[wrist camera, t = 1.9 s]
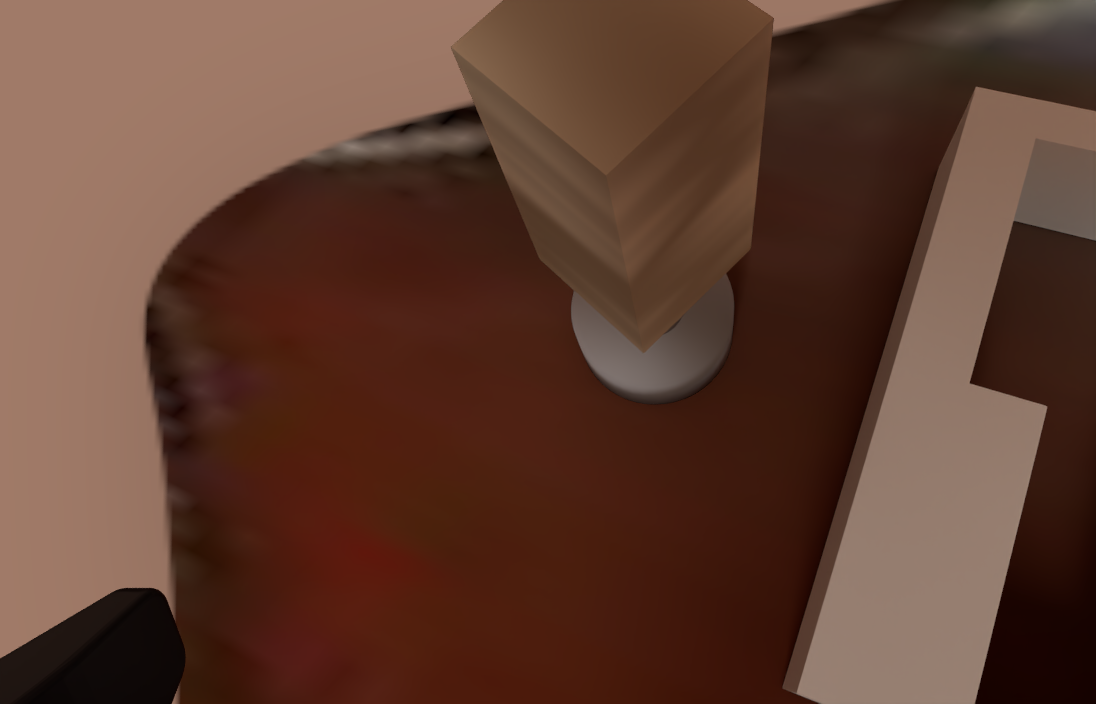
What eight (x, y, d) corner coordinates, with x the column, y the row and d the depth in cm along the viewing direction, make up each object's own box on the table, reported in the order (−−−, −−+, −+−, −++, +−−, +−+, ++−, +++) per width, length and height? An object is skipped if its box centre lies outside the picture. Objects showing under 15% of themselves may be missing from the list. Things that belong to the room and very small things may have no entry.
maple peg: (657, 435, 23) (606, 214, 11) (550, 335, 24) (412, 50, 13) (764, 328, 23) (816, 14, 12) (654, 235, 24) (608, -123, 13)
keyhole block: (1226, 867, 18) (1344, 914, 14) (782, 688, 20) (796, 693, 17) (1326, 258, 21) (1441, 182, 18) (938, 168, 24) (975, 86, 20)
